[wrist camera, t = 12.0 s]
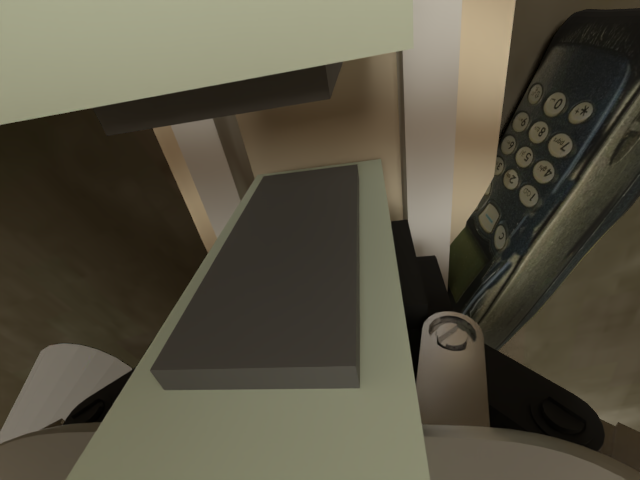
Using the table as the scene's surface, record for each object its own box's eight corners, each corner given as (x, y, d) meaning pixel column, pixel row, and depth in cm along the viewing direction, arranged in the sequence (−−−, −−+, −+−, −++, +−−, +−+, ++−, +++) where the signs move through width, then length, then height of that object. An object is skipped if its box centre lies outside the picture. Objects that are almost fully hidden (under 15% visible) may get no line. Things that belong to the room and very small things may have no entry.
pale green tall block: (292, 294, 15) (217, 612, 7) (253, 161, 12) (20, 489, 4) (390, 288, 15) (431, 637, 6) (379, 144, 11) (440, 513, 3)
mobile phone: (680, -8, 7) (417, 398, 15) (809, 26, 7) (480, 408, 15) (548, 3, 11) (399, 316, 19) (631, 25, 11) (448, 325, 19)
